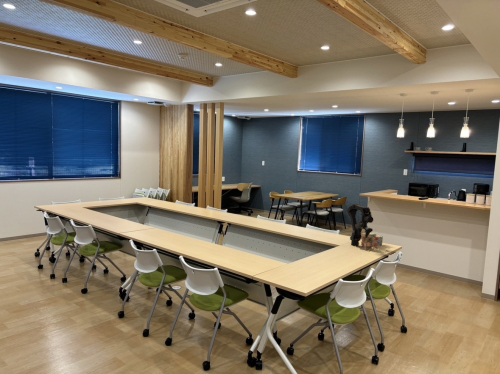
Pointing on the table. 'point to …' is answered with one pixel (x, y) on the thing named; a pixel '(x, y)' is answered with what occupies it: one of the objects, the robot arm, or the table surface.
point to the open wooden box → (366, 240)
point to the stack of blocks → (374, 239)
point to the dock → (367, 249)
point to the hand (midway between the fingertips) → (362, 236)
